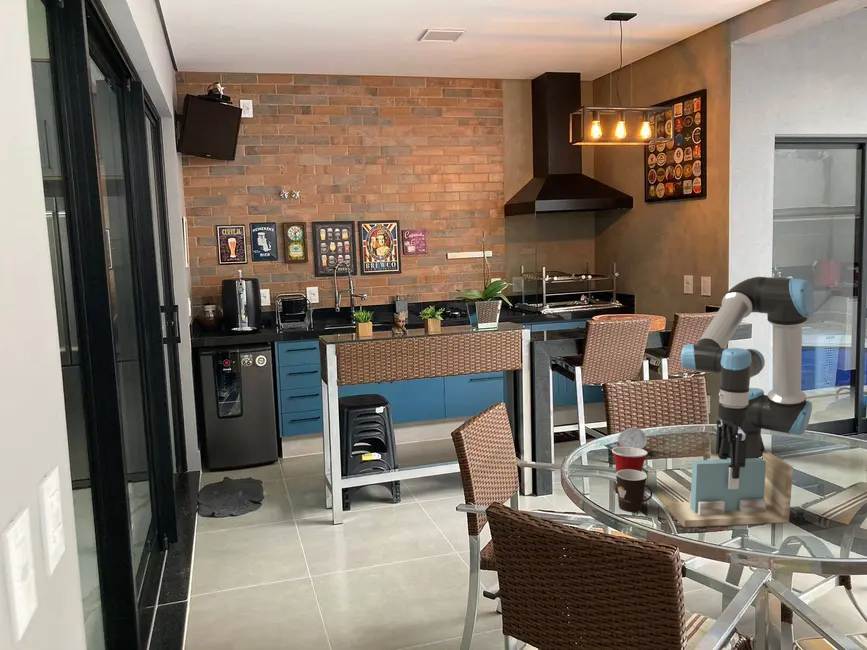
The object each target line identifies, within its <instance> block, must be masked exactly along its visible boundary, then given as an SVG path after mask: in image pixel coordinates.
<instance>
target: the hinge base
mask: <svg viewBox="0 0 867 650" xmlns="http://www.w3.org/2000/svg"><path fill="white" fill-rule="evenodd" d="M763 460H764V461H766V471H765V488H764V499H748V500H740V505H739V510H737V511H724V506H725V502H724V501H704V502H698V512H694V511H693V510H692V509H691V508H690V505H691V493H690V494H689V501H683V502H682V501H679V502H667V503H666V511H668V513H670V515H672V516H673V518H675V519H676V521H678V523H679V524H681V526H683V527H684V528H699V527H716V526H717V527H718V526H719V527H720V526H721V527H722V526H737V525H738V526H740V525H741V526H742V525H759V524H760V525H761V524H763V525H764V524H777V523H778V524H780V523H782V524H783V523H790V511H791V501H792V500H791V498H792V486H793V485H792V484H793V476H794V475H793V474H794V473H793V472H794V467H793V466H792V465H790V464H789V463H787V462H786V461H784V460H782V459H781V458H779V457H778V456H776V455H774V454H773V453H771V452H765V453H763Z"/></svg>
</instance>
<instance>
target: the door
mask: <svg viewBox="0 0 867 650" xmlns="http://www.w3.org/2000/svg"><path fill="white" fill-rule="evenodd" d="M729 465H731V458H727V459H724V460H720V459H705V460H702V459H701V460H700V459H699V460H691V485H690V488H691V489H690V494H691V505H690V508H691V509H692V510H693V511H694V512H698V502H704V501H724V502H725V506H724V511H737V510H739V505H740V500H748V499H764V488H765V471H766V461H764V460H763V459H761V458H749V459H746V461H745V467H740V473H739V488H738V489H728V477H729Z"/></svg>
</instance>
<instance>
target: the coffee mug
mask: <svg viewBox="0 0 867 650" xmlns="http://www.w3.org/2000/svg"><path fill="white" fill-rule="evenodd" d="M615 476H616V488H617V500H618V508H619V509H620V510H622V511H623V512H627V513H628V512H629V513H637V512H638V513H639V512H641V510H642V508H643V503H644V502H645V503H646V502H647V501H649V500H650V499H652V497H653V490H652V488H651V487H650V486H649V485H647V478H648V475H647V474H646V473H645V472H643V471H642V472H641V471H637V470H629V469H628V470H620V471H618V472H617V473H616V472H615ZM645 489H648V490H649V496H648V498H645V499H644V495H645V492H646V491H645Z"/></svg>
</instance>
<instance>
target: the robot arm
mask: <svg viewBox="0 0 867 650" xmlns="http://www.w3.org/2000/svg"><path fill="white" fill-rule="evenodd" d="M814 305H815V294H814V289H813V286H812V285H811V283H810V282H809V281H808V280H807V279H800V278H795V277H792V278H790V277H789V278H788V277H770V276H769V277H767V276H754V277H753V276H752V277H751V278H747V279H744V280H743V281H742V280H741V282H739V283H737V284H735V285H734V286H732V287H731V288H730V289H729V290H728V291H727V292H726V293H725V294H724V295H723V298H722V300H721V306H720V308H719V309H718V311H717V312H716V314H715V315H714V317H713V318H712V319H711V321H710V323H709V324H708V326H707V327H706V329H705V331H704V332H703V333H702V335H701V336H700V337H699V339H698V340H697V342H696V343H690V344H689V343H688V344H685V345H683V346H682V349H681V353H680V364H681V366H682V367H683V368H684V369H687V370H691V371H692V370H693V371H694V372H697V371H698V372H706V373H712V374H719V375H720V380H719V381H720V382H719V393H718V397H719V400H718V401H719V404H718V410H717V411H718V413H717V415H718V418H720V419H719V420H718V419H717V420H716V439H715V440H716V444H715V454H716V455H718V458H719V460H724V459H731V465H729V477H728V489H738V488H739V473H740V467H745V461H746V459H749V458H759V457H761V456H763V453H766V449H765V445H764V441H763V438H762V430H768V431H773V432H778V433H783V434H788V435H790V434H791V435H798V436H801V435H802V434H805V432H806V431H807V428H808V426H809V423H810V419H811V416H812V413H813V412H812V410H813V402H812V401H809V400H807V394H806V392H804V391H803V390H802V360H803V359H802V355H803V353H802V351H803V350H802V348H803V347H802V346H803V325H804V324H805V323H806V322H808V318H809V317H812V315H813V313H814V308H815V306H814ZM751 313H759V314H767V319H766V320H767V322H768V323H770V324H771V326H772V389H771V390H769V391H768V393H767V394H765V392H764V389H762V388H757V387H750V380H751V378H753V377H755V376H757V375H759V374H760V373H761V371H762V370H763V369H764V367H765V363H766V362H765V361H766V360H765V358H764V357H765V356H764V355H763V353H761V352H760V351H759V350H757V349H756V348H755V349H754V348H741V347H739V348H738V347H730V348H726V347H727V345H728V343H729V341H730V340H731V339H732V337H733V335H734V334H735V332H736V331H737V329H738V328H739V326H740V325H741V322H742V321H743V319H744V318H747V317H749V316H750V315H751Z"/></svg>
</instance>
